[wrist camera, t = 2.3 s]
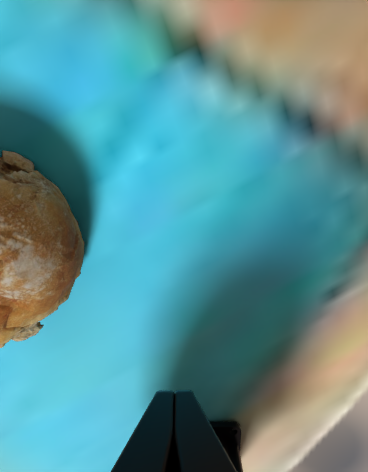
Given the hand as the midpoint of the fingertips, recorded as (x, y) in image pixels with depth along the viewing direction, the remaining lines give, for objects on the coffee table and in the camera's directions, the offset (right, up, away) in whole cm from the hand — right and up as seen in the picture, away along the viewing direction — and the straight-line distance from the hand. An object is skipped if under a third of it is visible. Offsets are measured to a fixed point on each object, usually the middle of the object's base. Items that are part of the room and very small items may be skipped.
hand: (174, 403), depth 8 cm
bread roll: (-10, +4, +11) cm, 16 cm away
